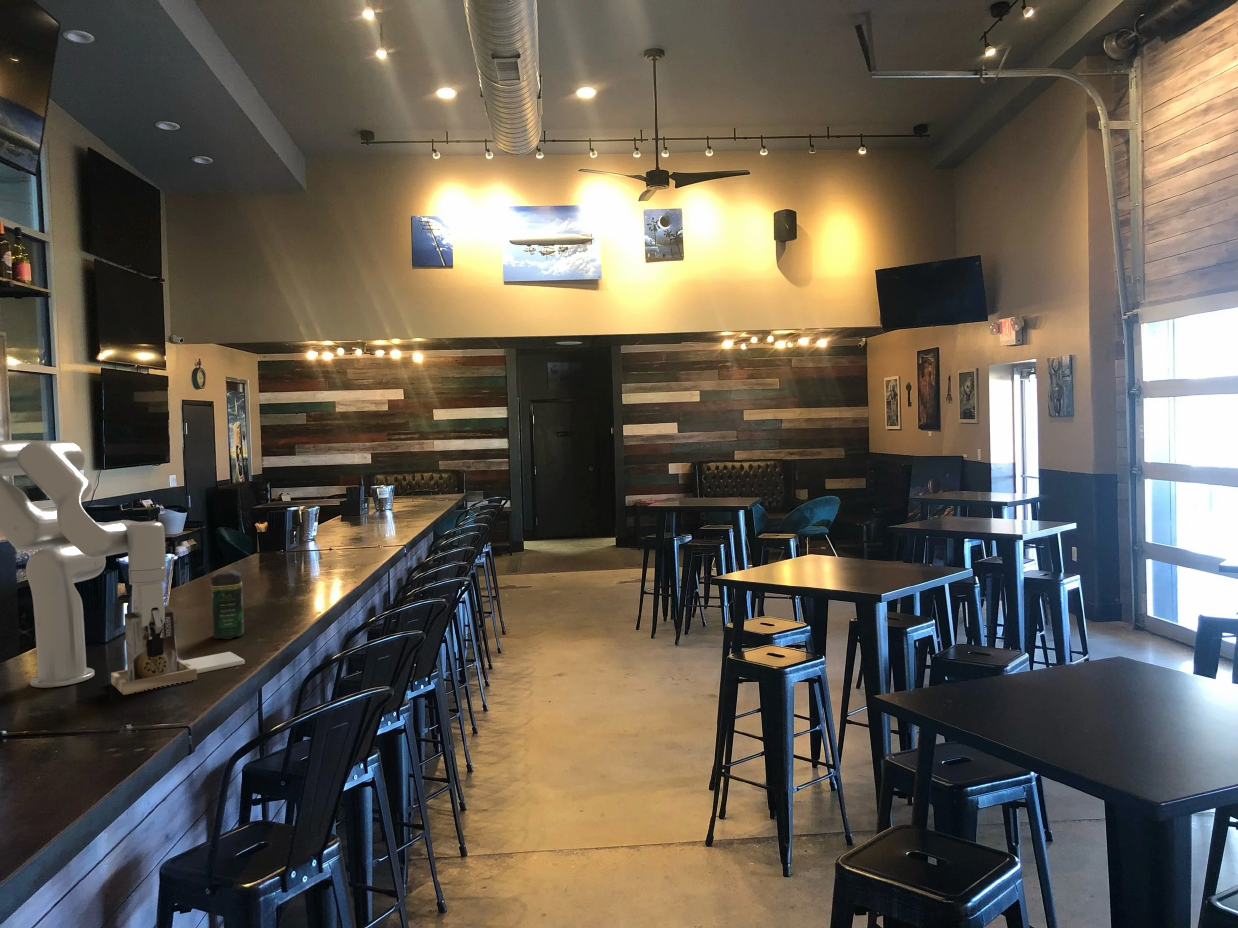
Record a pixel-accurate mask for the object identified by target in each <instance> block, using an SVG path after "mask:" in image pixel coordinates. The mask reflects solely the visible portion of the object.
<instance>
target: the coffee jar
mask: <svg viewBox="0 0 1238 928" xmlns="http://www.w3.org/2000/svg"><path fill="white" fill-rule="evenodd" d="M242 578H243V577H242V572H241V571H239V570H237V569H235V568H233V569H231V568H230V569H220V570H218V572H216V573H214V574H213V575H212V576H211V578H210V581H211V582H210V583H211V586H210V587H211V588H210V589H211V590H210V591H211V611H212V630H213V632H212V633H213V634H212V635H213V638H214V639H223V640H228V639H229V640H230V639H232V638H236V637H238V638H239V637H241V636H242V635H243V634H244V632H245V620H244V619H245V618H244V593H243V579H242Z"/></svg>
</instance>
